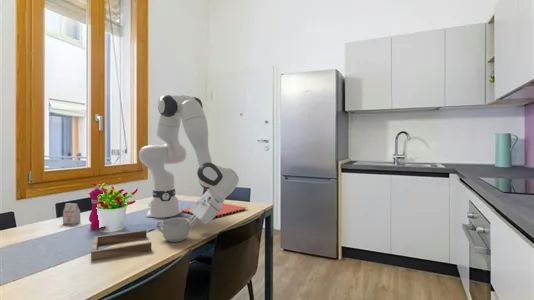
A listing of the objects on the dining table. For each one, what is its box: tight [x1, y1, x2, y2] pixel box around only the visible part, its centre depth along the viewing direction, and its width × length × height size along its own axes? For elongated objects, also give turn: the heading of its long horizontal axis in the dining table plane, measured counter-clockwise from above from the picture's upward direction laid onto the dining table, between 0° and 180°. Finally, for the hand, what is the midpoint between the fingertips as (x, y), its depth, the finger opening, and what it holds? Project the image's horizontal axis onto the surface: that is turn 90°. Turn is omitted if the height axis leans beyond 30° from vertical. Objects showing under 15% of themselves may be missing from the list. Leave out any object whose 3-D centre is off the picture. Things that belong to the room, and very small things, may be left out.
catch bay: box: [90, 229, 153, 262], centre depth 116 cm, size 19×20×3 cm
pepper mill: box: [88, 185, 104, 230], centre depth 144 cm, size 7×7×20 cm
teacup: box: [156, 217, 190, 243], centre depth 125 cm, size 14×11×8 cm
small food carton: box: [62, 202, 81, 225], centre depth 152 cm, size 4×7×10 cm, turn 77°
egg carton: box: [180, 202, 249, 219], centre depth 177 cm, size 28×28×2 cm
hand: (189, 225), depth 128 cm, fingers closed
